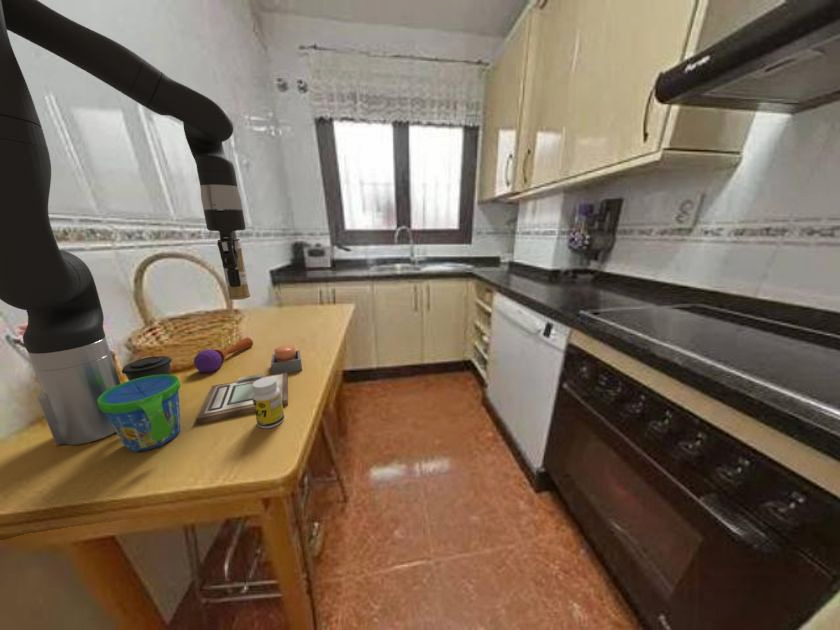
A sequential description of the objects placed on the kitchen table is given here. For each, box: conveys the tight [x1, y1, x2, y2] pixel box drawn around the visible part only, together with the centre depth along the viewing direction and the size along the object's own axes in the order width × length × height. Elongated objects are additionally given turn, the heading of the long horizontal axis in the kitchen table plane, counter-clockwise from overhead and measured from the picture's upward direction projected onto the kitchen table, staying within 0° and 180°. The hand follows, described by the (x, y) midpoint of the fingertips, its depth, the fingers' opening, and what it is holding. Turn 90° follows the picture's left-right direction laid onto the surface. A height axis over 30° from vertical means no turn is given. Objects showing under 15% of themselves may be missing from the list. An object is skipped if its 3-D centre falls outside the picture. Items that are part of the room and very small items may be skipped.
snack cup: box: [97, 374, 181, 453], centre depth 54 cm, size 16×10×10 cm
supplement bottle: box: [252, 377, 285, 429], centre depth 59 cm, size 5×5×8 cm
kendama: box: [193, 337, 254, 373], centre depth 89 cm, size 6×6×20 cm
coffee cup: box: [121, 355, 172, 381], centre depth 66 cm, size 8×8×10 cm
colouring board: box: [195, 373, 289, 425], centre depth 69 cm, size 16×14×2 cm
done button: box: [274, 345, 297, 362], centre depth 82 cm, size 5×5×4 cm
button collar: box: [270, 349, 303, 375], centre depth 83 cm, size 7×7×3 cm
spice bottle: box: [222, 240, 251, 301], centre depth 73 cm, size 5×5×14 cm
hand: (237, 284), depth 74 cm, fingers closed on spice bottle, 4 cm apart
